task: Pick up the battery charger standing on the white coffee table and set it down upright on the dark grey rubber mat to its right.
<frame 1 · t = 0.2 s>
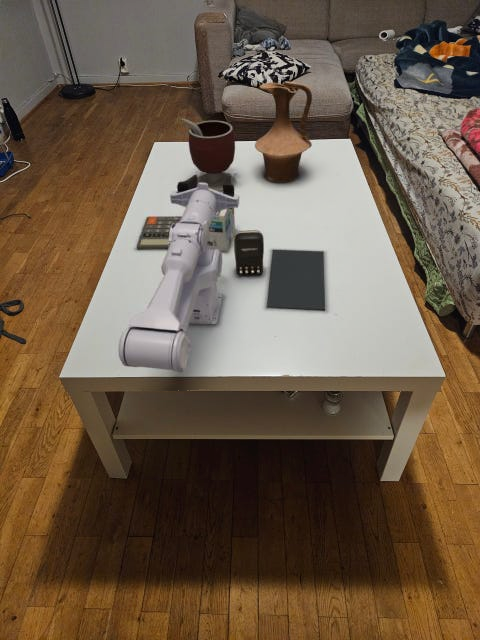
hand: (212, 179, 102), 21 cm above the table, tool horizontal, fingers open, 7 cm apart
mat: (296, 278, 110), on the table
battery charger: (249, 274, 112), on the table
pitcher: (282, 175, 148), on the table
calculator: (163, 233, 126), on the table
mate gourd: (212, 183, 146), on the table
light bulb box: (219, 240, 123), on the table
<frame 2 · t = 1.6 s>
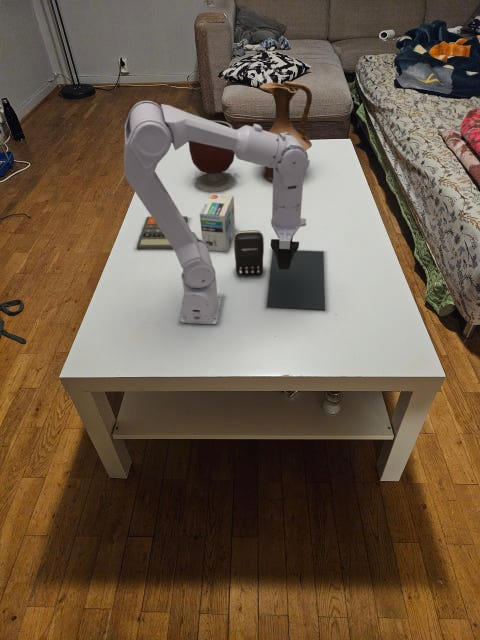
hand: (284, 257, 98), 10 cm above the table, tool pointing down, fingers open, 7 cm apart
nothing on the table moved.
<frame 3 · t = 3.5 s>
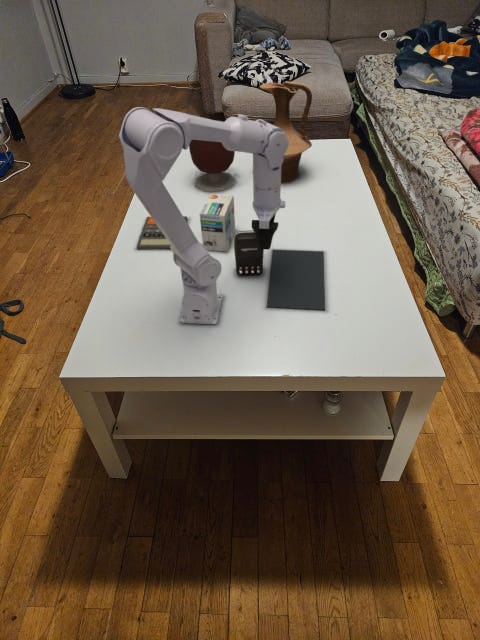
hand: (266, 238, 104), 10 cm above the table, tool pointing down, fingers open, 7 cm apart
nothing on the table moved.
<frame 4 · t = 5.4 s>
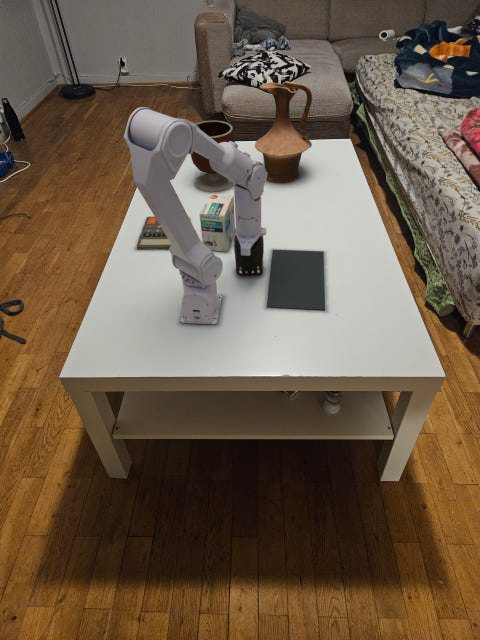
hand: (249, 262, 109), 3 cm above the table, tool pointing down, fingers closed on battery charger, 4 cm apart
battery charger: (249, 274, 112), on the table, touching gripper
everything else where it was.
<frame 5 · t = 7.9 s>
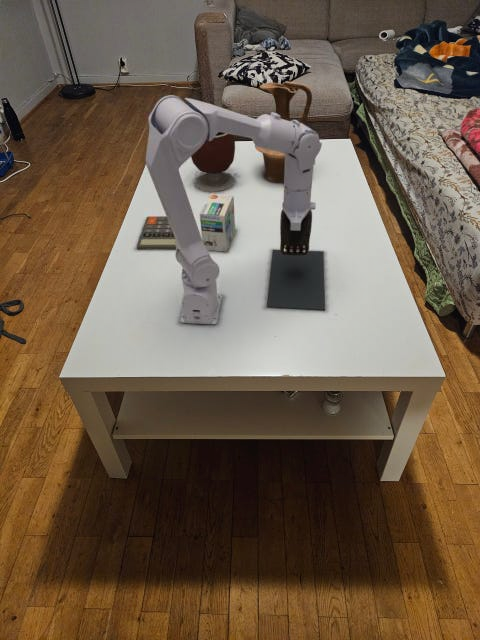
hand: (294, 240, 103), 10 cm above the table, tool pointing down, fingers closed on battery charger, 4 cm apart
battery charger: (294, 253, 106), point 7 cm above the table, touching gripper
everything else where it was.
when the fingers open (4 cm above the table, at t = 10.2 s): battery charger stays where it is, resting on mat.
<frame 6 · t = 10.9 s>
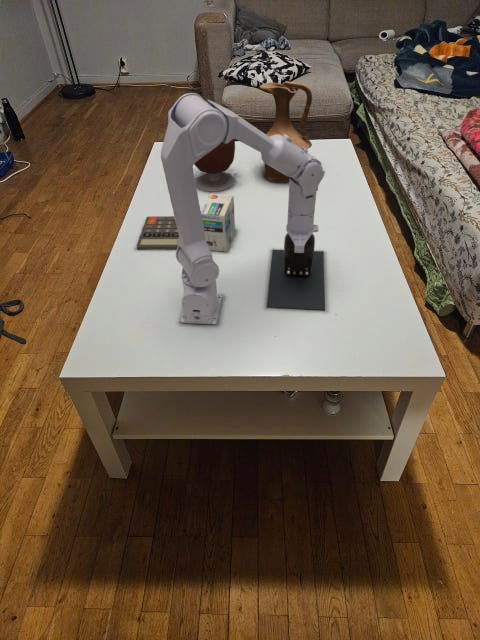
hand: (297, 260, 107), 5 cm above the table, tool pointing down, fingers open, 7 cm apart
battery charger: (297, 275, 110), resting on mat
everything else where it was.
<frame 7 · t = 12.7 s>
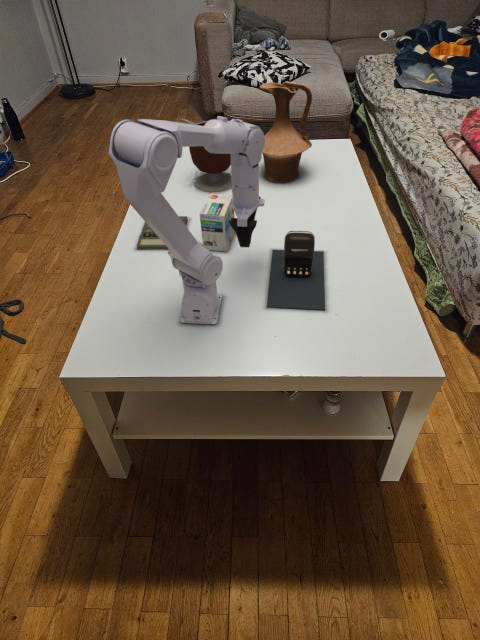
hand: (246, 236, 105), 10 cm above the table, tool pointing down, fingers open, 7 cm apart
nothing on the table moved.
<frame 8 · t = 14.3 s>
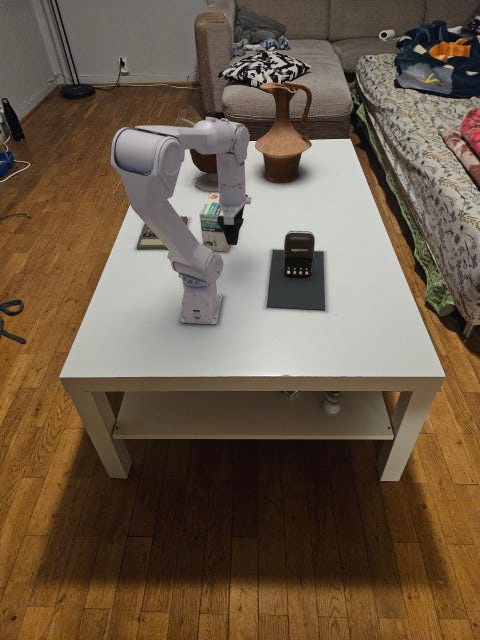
hand: (234, 234, 106), 10 cm above the table, tool pointing down, fingers open, 7 cm apart
nothing on the table moved.
at the end: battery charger inside the target area on the mat (0.8 cm from its centre), point 0.2 cm above the mat's base; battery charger tilted 0°; the gripper is holding nothing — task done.
